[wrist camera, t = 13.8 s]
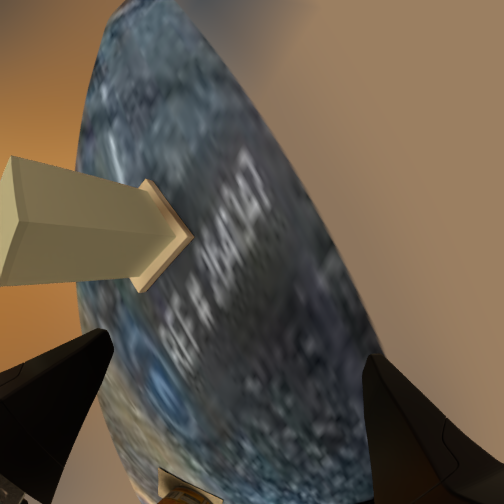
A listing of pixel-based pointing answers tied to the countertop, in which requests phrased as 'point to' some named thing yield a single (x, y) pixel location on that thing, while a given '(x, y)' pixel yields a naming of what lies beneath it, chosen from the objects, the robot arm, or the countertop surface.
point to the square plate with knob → (172, 249)
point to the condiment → (182, 492)
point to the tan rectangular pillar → (74, 226)
